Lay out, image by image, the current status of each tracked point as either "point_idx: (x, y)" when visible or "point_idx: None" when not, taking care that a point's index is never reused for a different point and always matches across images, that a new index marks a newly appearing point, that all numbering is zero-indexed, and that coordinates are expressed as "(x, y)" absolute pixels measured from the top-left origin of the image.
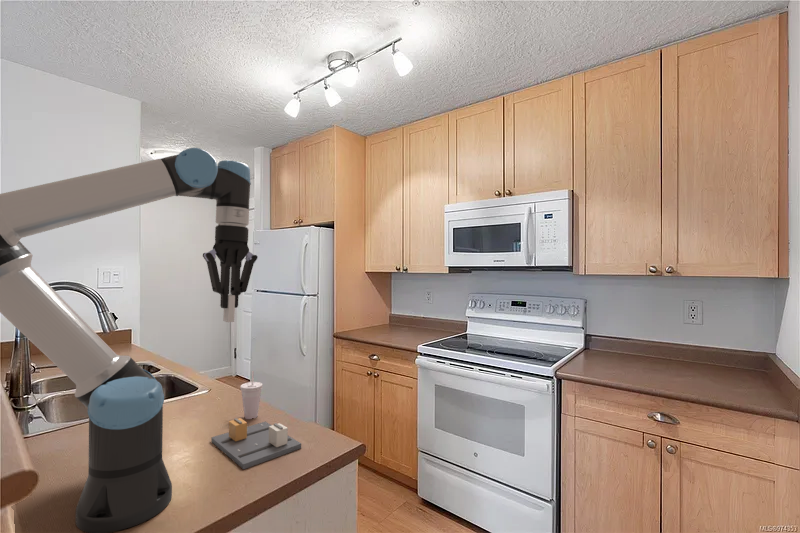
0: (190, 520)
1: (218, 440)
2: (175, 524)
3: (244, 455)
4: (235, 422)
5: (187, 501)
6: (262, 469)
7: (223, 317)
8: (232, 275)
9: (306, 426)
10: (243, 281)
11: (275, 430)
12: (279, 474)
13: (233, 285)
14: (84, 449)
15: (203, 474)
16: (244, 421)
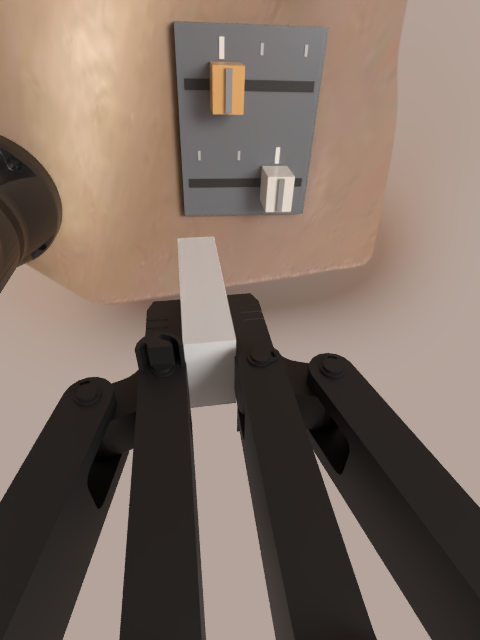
0: (82, 286)
1: (182, 61)
2: (63, 282)
3: (199, 186)
4: (222, 89)
5: (83, 243)
6: (209, 232)
7: (178, 247)
8: (268, 535)
9: (381, 121)
10: (341, 484)
11: (265, 207)
12: (222, 262)
13: (247, 448)
14: None
15: (120, 179)
16: (242, 101)
